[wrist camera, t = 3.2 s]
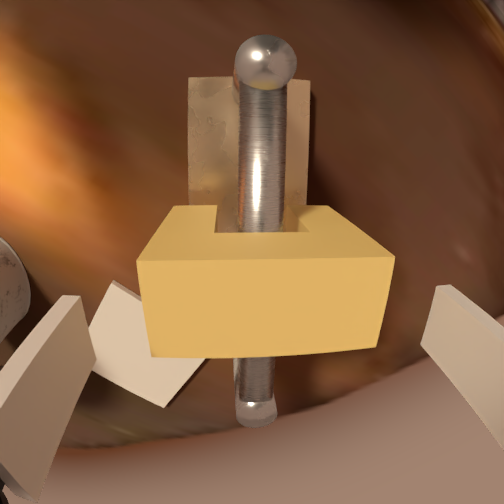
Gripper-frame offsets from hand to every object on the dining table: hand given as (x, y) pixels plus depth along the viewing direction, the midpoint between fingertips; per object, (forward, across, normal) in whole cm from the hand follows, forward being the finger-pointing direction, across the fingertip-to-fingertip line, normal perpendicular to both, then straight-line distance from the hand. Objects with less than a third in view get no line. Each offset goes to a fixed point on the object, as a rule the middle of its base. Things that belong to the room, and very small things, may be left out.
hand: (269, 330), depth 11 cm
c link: (+9, 0, 0) cm, 9 cm away
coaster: (+14, -9, -11) cm, 20 cm away
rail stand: (+14, 0, 0) cm, 14 cm away
